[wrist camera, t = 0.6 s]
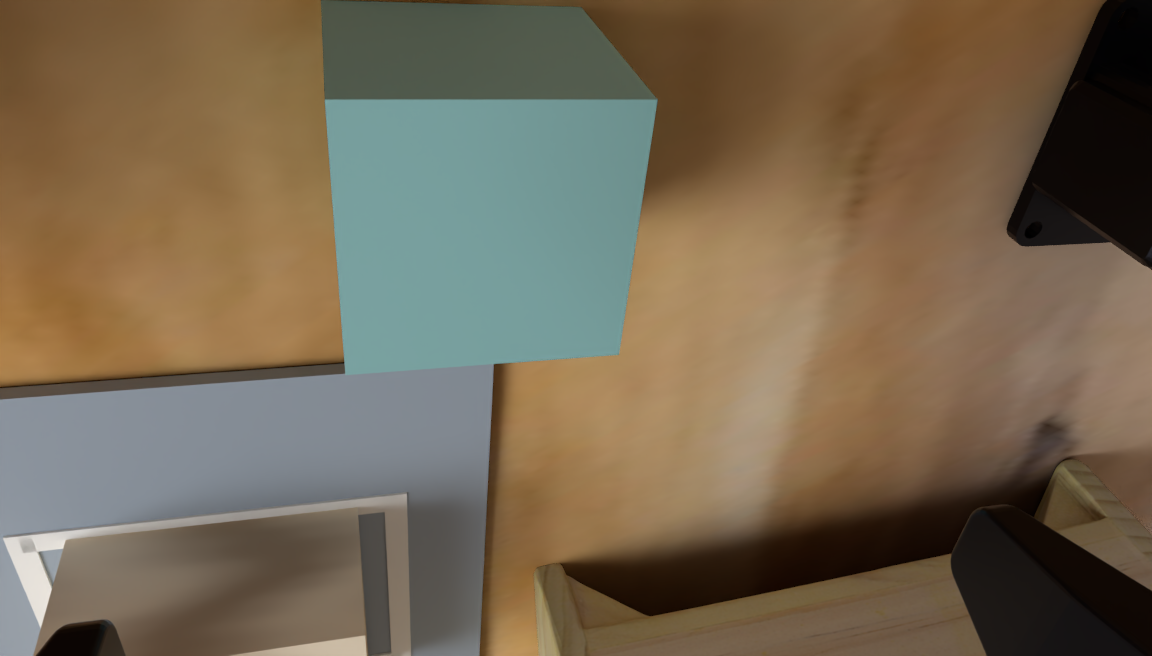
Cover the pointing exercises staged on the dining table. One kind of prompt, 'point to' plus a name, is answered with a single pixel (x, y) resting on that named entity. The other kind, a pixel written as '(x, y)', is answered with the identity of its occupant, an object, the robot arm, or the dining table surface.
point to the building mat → (260, 481)
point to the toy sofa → (835, 599)
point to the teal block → (480, 182)
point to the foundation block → (220, 588)
